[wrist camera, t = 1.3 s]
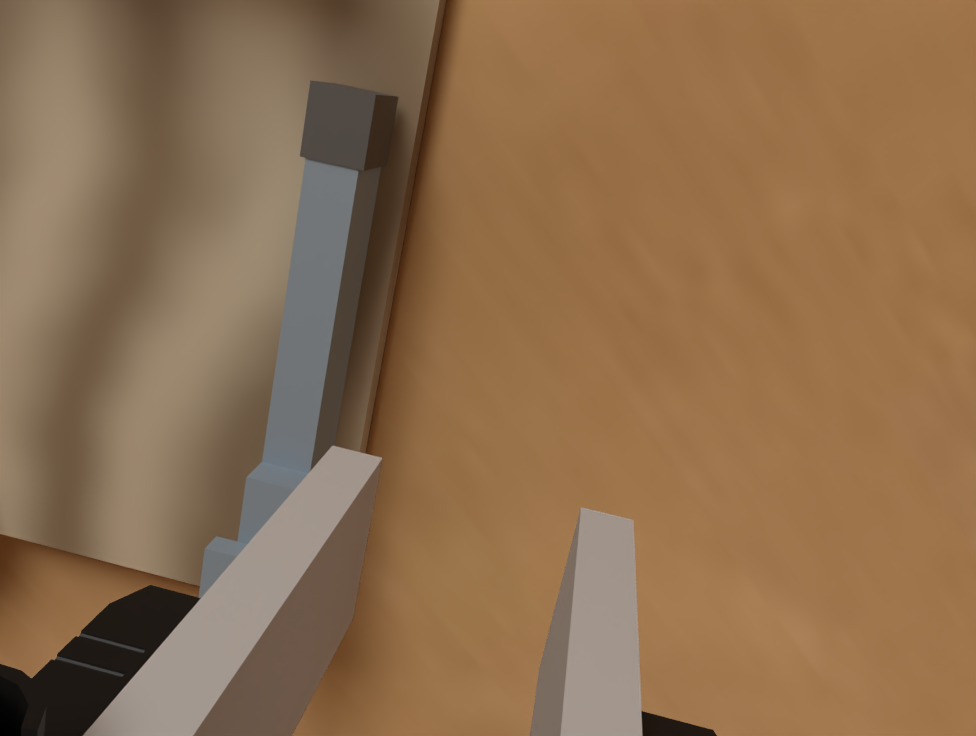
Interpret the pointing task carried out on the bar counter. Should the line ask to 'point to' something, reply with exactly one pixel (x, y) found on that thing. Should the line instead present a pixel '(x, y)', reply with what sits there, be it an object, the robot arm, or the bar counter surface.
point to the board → (173, 252)
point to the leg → (316, 299)
